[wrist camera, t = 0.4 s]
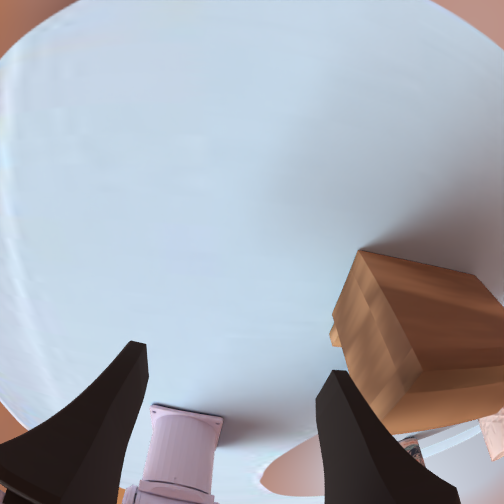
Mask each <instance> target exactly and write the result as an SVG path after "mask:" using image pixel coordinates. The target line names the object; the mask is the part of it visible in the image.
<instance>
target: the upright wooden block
mask: <svg viewBox="0 0 504 504" xmlns="http://www.w3.org/2000/svg"><path fill="white" fill-rule="evenodd" d="M332 316H333V319H334V325H333V327H332V329H331V331H330V333H329V335H330V339H331V343H332V346H335V347H342V349H343V353H344V356H345V360H346V364H347V367H348V371H349V374H350V377H351V379H352V380H353V382H354V383H355V385H356V386H357V388H358V389H359V391H360V392H361V394H362V395H363V397H364V398H365V400H366V401H367V403H368V404H369V406H370V407H371V409H372V410H373V411H374V413H375V414H376V416H377V417H378V418H379V420H380V421H381V422H382V424H383V425H384V426H385V427H386V429H387V430H388V431H389V432H390V434H391V435H395V434H403V433H411V432H417V431H424V430H429V429H435V428H440V427H445V426H450V425H455V424H459V423H464V422H468V421H472V420H476V419H479V418H483V417H487V416H490V415H494V414H497V413H498V412H499V411H500V410H501V409H502V408H503V407H504V307H503V306H502V305H501V304H500V303H499V301H498V300H497V299H496V298H495V297H494V296H493V295H492V293H491V292H490V291H489V290H488V289H487V288H486V287H485V286H484V285H483V284H482V282H481V281H480V280H479V279H478V278H477V277H476V276H475V275H472V274H467V273H463V272H459V271H454V270H450V269H445V268H441V267H436V266H432V265H427V264H422V263H418V262H413V261H409V260H404V259H399V258H394V257H390V256H385V255H380V254H375V253H370V252H366V251H361V250H358V251H357V254H356V257H355V259H354V262H353V264H352V267H351V269H350V272H349V274H348V277H347V279H346V282H345V284H344V287H343V289H342V292H341V294H340V296H339V299H338V301H337V304H336V306H335V308H334V310H333V313H332Z"/></svg>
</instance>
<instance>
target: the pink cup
mask: <svg viewBox="0 0 504 504" xmlns="http://www.w3.org/2000/svg"><path fill="white" fill-rule="evenodd" d="M478 421H479V423H480V428H481V431H482V433H483V437H484V439H485V442H486V445H487V448H488V451H489V454H490V457H491V460H492V461H495V460H498V459H500V458H501V457H503V456H504V407H503V408H502V409H501V410H500V411H499V412H498V413H497V414H494V415H490V416H487V417H483V418H479V419H478Z"/></svg>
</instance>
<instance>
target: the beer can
mask: <svg viewBox="0 0 504 504" xmlns="http://www.w3.org/2000/svg"><path fill="white" fill-rule="evenodd" d="M398 443H399V444H400V445H401V446H402V447H403V448H404V449H405V450H406V451H407V452H408V453H409V454H410V455H411V456H413V457H414V458H415V459H416V460H417V461H418V462H419V463H420V464H422V465H423V466H424V467H425V464H424V460H423V457H422V454H421V451H420V447H419V444H418V441H417V439H415V438H406V439H403V440H401V441H399V442H398ZM425 468H426V467H425Z"/></svg>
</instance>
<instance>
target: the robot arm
mask: <svg viewBox="0 0 504 504" xmlns="http://www.w3.org/2000/svg"><path fill="white" fill-rule="evenodd" d="M148 378H149V373H148V361H147V348H146V344H144V343H139V342H135V341H130V342H128V344H127V345H126V346H125V347H124V348H123V350H122V351H121V352H120V353H119V355H118V356H117V357H116V358H115V359H114V360H113V361H112V363H111V364H110V365H109V366H108V367H107V368H106V369H105V370H104V371H103V372H102V373H101V374H100V376H99V377H98V378H97V379H96V380H95V381H94V382H93V383H92V384H91V385H90V386H88V387H87V388H86V389H85V390H84V391H83V392H82V393H81V394H80V395H79V396H78V397H77V398H75V399H74V400H73V401H72V402H71V403H70V404H68V405H67V406H66V407H64V408H63V409H62V410H61V411H59V412H58V413H56V414H55V415H54V416H52V417H51V418H49V419H48V420H46V421H45V422H43V423H42V424H40V425H38V426H36V427H35V428H33V429H31V430H29V431H28V432H26V433H24V434H22V435H20V436H18V437H16V438H14V439H12V440H9V441H7V442H4V443H2V444H0V484H2V485H3V486H4V487H6V488H7V490H6V493H4V492H2V491H1V490H0V504H117V497H118V490H119V483H120V478H121V472H122V467H123V462H124V457H125V452H126V449H127V445H128V442H129V439H130V436H131V433H132V430H133V428H134V425H135V422H136V419H137V416H138V414H139V411H140V408H141V405H142V402H143V399H144V395H145V391H146V387H147V383H148ZM150 414H151V422H152V428H153V433H152V437H151V441H150V445H149V450H148V454H147V458H146V463H145V467H144V472H143V477H142V480H140V482H139V487H138V486H136V485H131V486H130V487H128V488H126V490H125V493H124V497H123V500H122V504H219V503H218V502H214V495H211V484H212V473H213V462H214V452H215V450H216V446H217V443H218V439H219V435H220V432H221V428H222V424H223V418H221V417H216V416H209V415H203V414H197V413H191V412H186V411H181V410H176V409H171V408H166V407H161V406H157V405H151V406H150ZM316 422H317V429H318V435H319V441H320V447H321V453H322V459H323V466H324V477H325V504H461V502H460V498H459V495H458V491H457V488H456V487H454V486H452V485H451V484H449V483H447V482H446V481H444V480H442V479H441V478H439V477H438V476H436V475H435V474H433V473H432V472H431V471H429V470H428V469H427V468H425V467H424V466H423V465H422V464H420V463H419V462H418V461H417V460H416V459H415V458H414V457H413V456H411V455H410V454H409V453H408V452H407V451H406V450H405V449H404V448H403V447H402V446H401V445H400V444H399V443H398V441H396V439H395V438H394V437H393V436H392V435H391V434H390V432H389V431H388V430H387V429H386V427H385V426H384V425H383V424H382V422H381V421H380V420H379V418H378V417H377V416H376V414H375V413H374V411H373V410H372V409H371V407H370V406H369V404H368V403H367V401H366V400H365V398H364V397H363V395H362V394H361V392H360V391H359V389H358V388H357V386H356V385H355V383H354V382H353V380H352V379H351V377H350V375H349V374H348V372H347V371H344V370H332V372H331V373H330V375H329V377H328V379H327V380H326V382H325V384H324V386H323V387H322V389H321V391H320V392H319V394H318V396H317V398H316Z"/></svg>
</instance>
